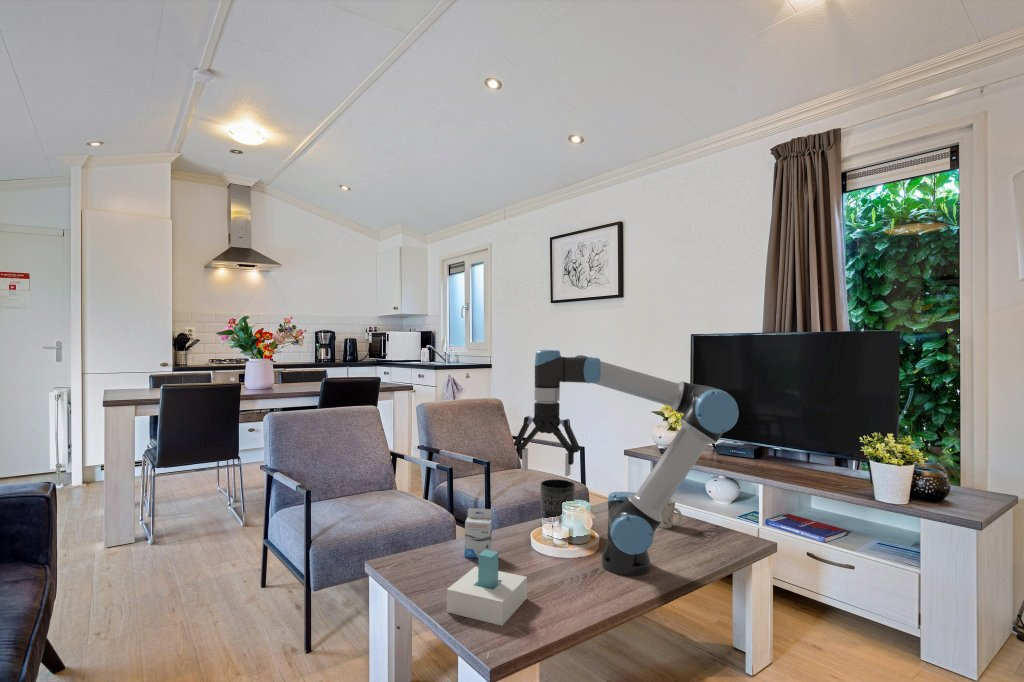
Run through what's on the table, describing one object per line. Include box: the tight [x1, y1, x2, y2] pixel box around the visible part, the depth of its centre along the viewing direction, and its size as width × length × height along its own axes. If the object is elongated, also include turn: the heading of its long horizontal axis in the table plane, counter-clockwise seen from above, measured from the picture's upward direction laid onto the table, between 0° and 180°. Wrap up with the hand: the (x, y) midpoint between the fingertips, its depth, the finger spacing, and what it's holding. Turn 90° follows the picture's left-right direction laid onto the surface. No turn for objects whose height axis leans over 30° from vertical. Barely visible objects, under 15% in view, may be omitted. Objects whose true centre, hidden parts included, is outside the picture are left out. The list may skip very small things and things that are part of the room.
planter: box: [539, 478, 576, 519], centre depth 207 cm, size 13×13×18 cm
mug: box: [657, 497, 683, 529], centre depth 213 cm, size 8×13×10 cm, turn 40°
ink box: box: [463, 507, 493, 559], centre depth 183 cm, size 9×5×15 cm, turn 84°
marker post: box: [477, 550, 499, 590], centre depth 149 cm, size 4×4×14 cm
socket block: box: [446, 566, 528, 626], centre depth 149 cm, size 16×16×6 cm
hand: (545, 472), depth 166 cm, fingers open, 13 cm apart
